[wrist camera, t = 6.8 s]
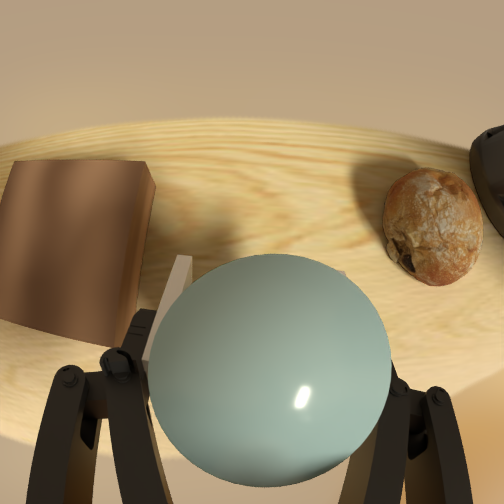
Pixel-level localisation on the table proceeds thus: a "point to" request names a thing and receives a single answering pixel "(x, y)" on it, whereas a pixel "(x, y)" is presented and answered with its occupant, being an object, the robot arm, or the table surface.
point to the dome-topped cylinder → (269, 370)
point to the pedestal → (74, 246)
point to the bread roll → (433, 226)
